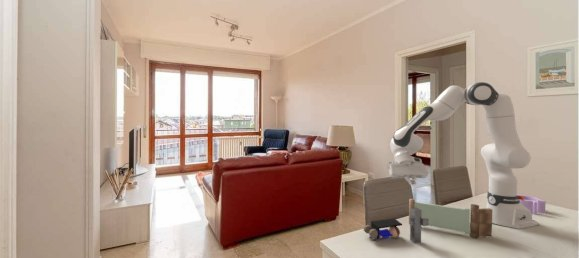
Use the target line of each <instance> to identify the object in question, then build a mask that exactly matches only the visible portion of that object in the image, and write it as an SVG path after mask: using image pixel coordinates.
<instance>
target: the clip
mask: <svg viewBox="0 0 579 258" xmlns="http://www.w3.org/2000/svg"><path fill="white" fill-rule="evenodd" d="M517 195H518V196H519V195H520V196H524V197H525V198H524V200H521V199H519V200H520V203H521V204H522V205H523V206H525V207H526V208H527V209H529V210H530V211H531V213H532V215H534V214H535V215H534V216H537V215H538V212H539V214H544V213H545V214H546V205H547V204H546V203H547V202H546V200H543V199H542V200H541V198H538V197H535V196H531V195H524V194H518V193H517Z"/></svg>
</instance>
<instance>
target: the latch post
mask: <svg viewBox="0 0 579 258" xmlns="http://www.w3.org/2000/svg"><path fill="white" fill-rule="evenodd" d="M421 215H422V210H421V209H419V208H417V207H415V208H411V213H410V224H409V225H410V227H409V230H410V231H409V232H410V233H409V241H410V242H412V243H413V244H421V243H422V227H428V226H429V225H428V220H429V219H428V218H421Z"/></svg>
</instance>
